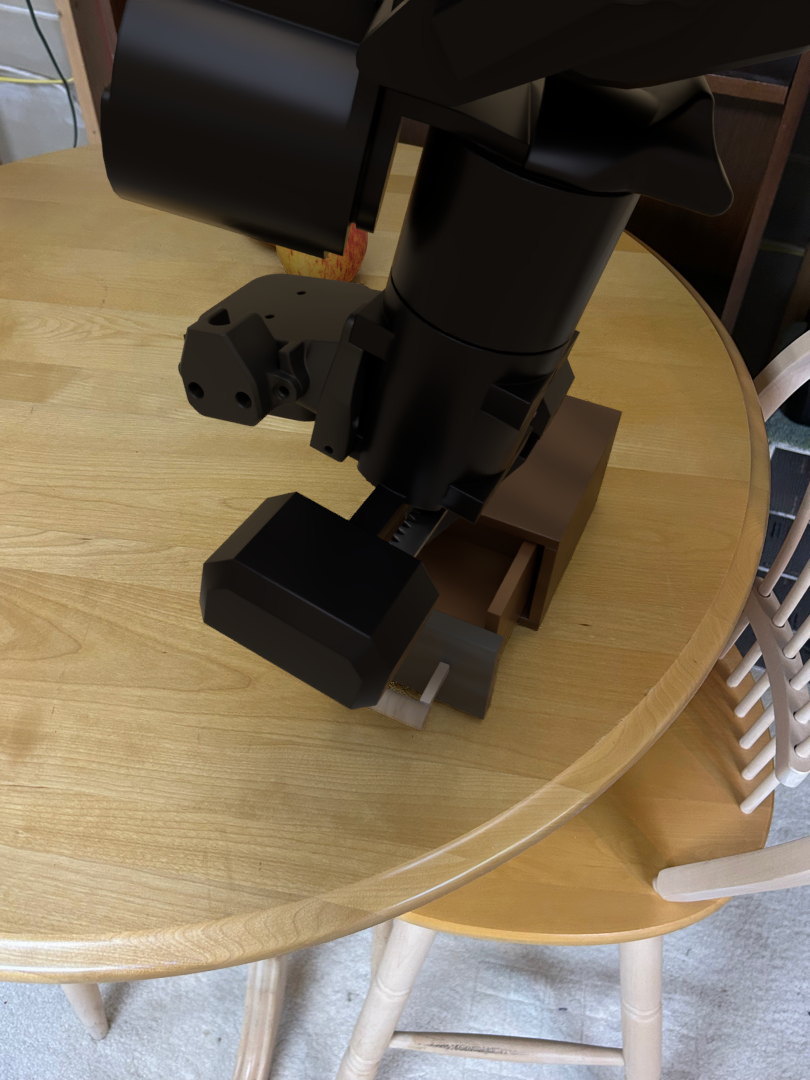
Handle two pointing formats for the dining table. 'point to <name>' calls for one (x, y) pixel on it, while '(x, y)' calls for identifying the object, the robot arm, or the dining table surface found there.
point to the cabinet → (555, 493)
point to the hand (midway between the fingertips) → (368, 604)
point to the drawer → (464, 620)
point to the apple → (328, 259)
